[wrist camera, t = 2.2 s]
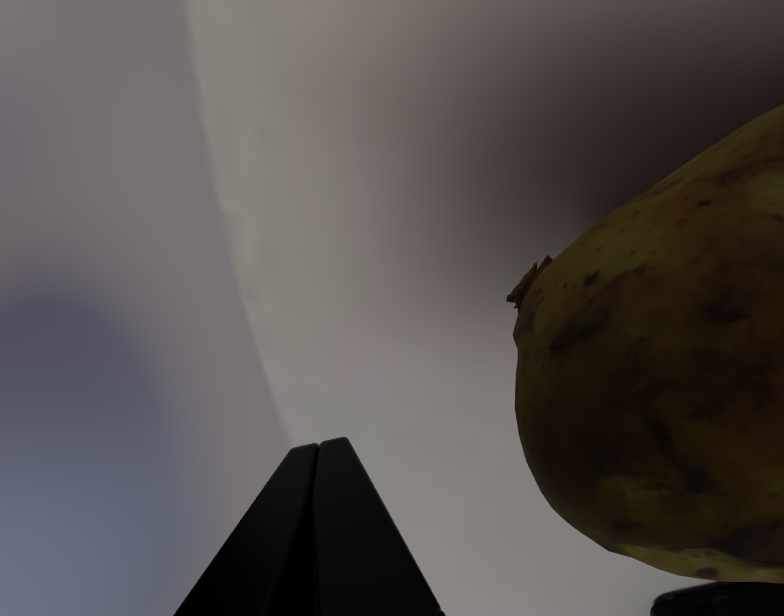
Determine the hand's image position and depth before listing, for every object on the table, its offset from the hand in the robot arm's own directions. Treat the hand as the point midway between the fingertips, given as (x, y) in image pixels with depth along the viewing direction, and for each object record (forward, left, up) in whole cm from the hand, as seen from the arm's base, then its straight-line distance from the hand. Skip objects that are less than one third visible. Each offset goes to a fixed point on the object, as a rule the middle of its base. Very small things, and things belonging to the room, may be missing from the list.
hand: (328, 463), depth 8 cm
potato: (0, -10, -6) cm, 11 cm away
